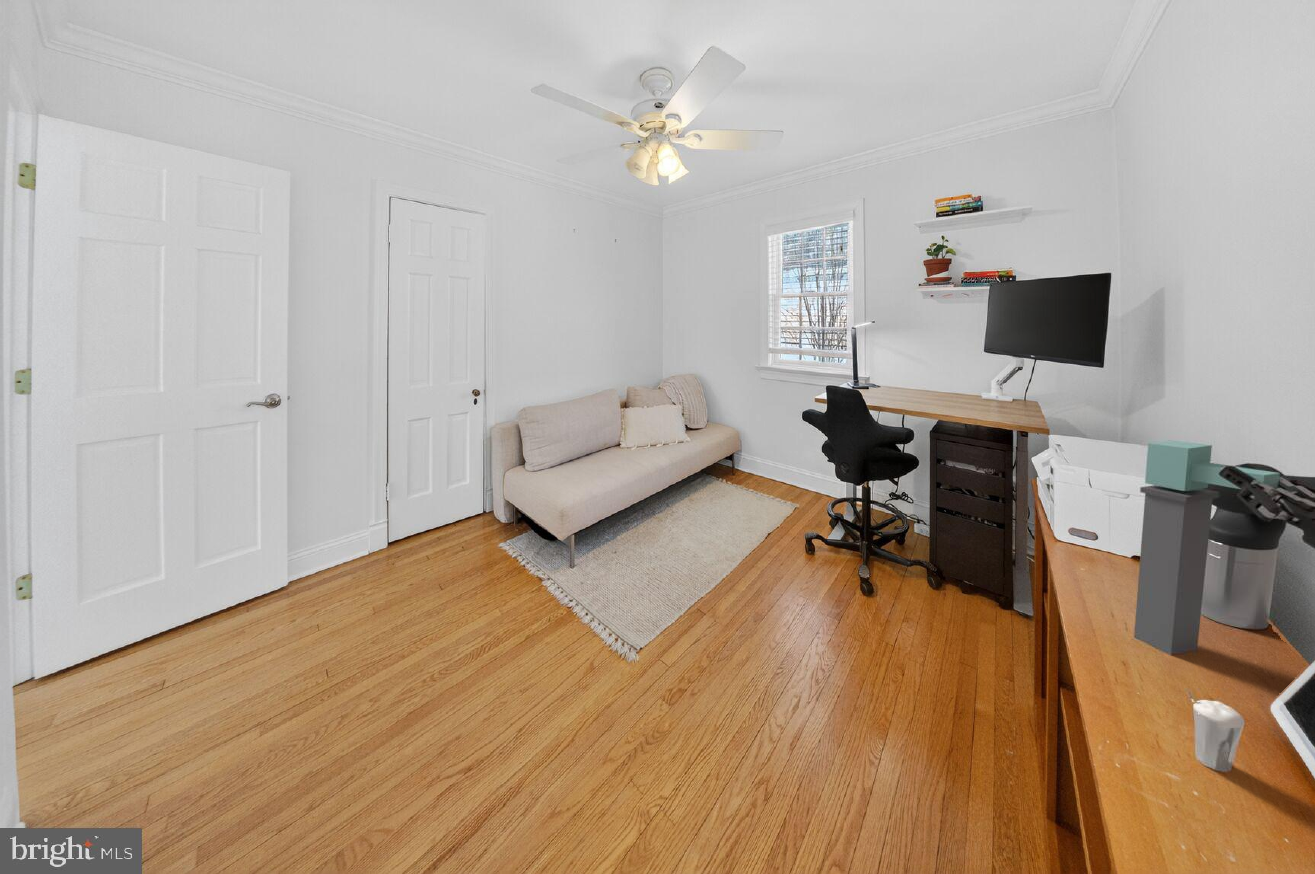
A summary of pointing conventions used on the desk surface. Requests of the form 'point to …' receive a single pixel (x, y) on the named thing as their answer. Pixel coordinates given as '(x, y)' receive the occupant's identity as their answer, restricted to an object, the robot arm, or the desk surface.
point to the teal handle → (1192, 467)
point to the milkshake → (1216, 733)
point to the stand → (1172, 567)
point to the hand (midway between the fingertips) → (1233, 468)
